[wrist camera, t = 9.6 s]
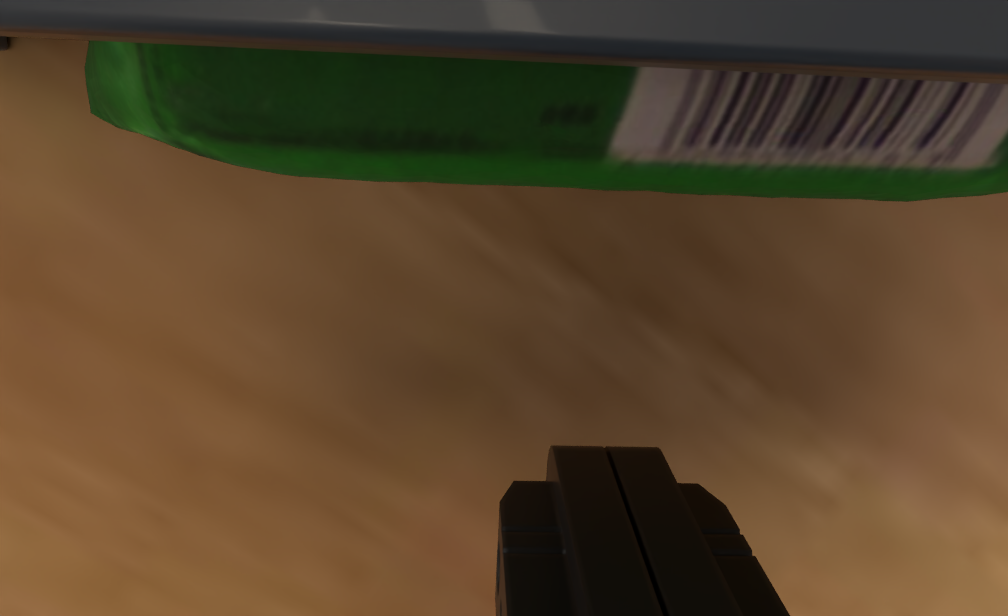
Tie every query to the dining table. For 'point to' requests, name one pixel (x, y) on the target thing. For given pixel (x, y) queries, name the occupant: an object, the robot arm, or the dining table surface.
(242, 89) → the snack package
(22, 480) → the dining table surface
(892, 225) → the dining table surface
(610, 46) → the open shelf stand
